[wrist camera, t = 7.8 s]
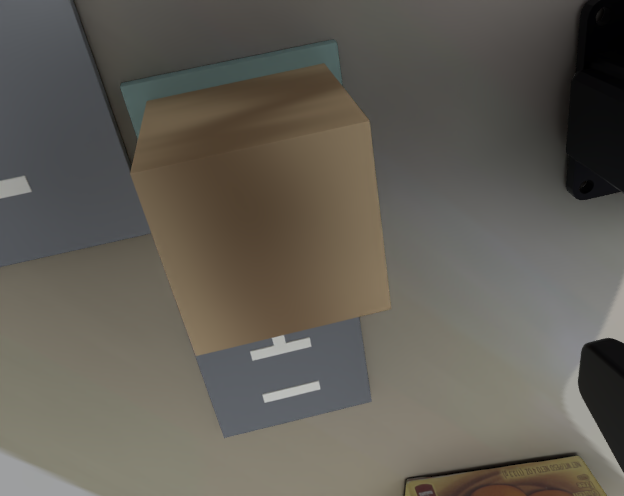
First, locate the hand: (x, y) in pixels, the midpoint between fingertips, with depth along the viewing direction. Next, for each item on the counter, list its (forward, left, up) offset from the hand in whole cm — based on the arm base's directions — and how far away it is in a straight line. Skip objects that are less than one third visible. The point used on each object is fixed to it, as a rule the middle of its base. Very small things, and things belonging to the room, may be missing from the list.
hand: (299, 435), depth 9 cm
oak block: (0, 0, -10) cm, 10 cm away
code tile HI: (0, +8, -11) cm, 13 cm away
